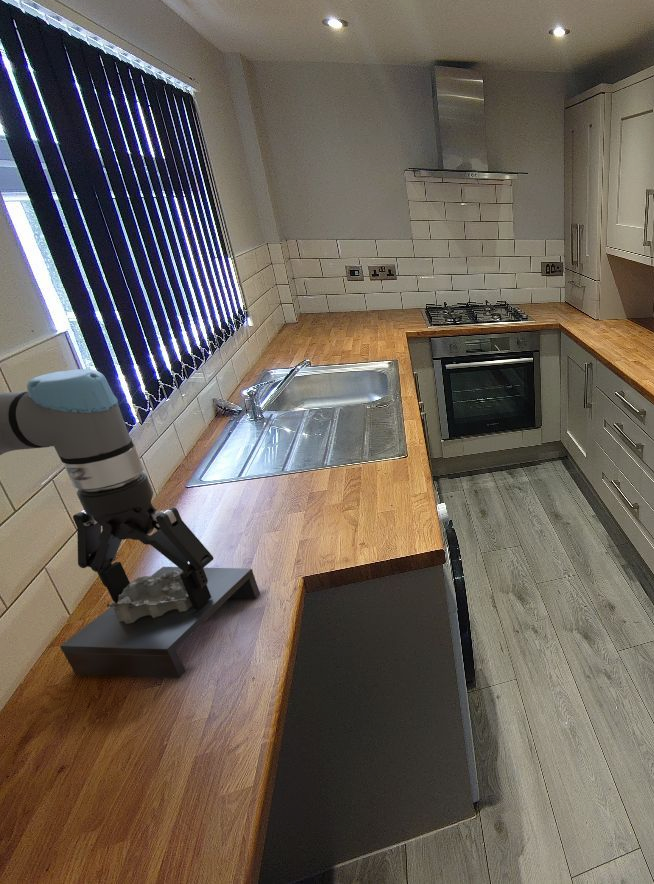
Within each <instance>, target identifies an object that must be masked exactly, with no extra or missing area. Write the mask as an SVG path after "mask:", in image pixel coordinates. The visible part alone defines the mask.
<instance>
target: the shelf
mask: <svg viewBox="0 0 654 884" xmlns="http://www.w3.org/2000/svg"><path fill="white" fill-rule="evenodd" d="M203 569H204V572H205V574H206V577H207V579H208V583H207V584H206V585H207V587H208V590H209V592H210V595H211V598H210V599H209V600H208V601H207V602H206V603H205V604H204V605H203V606H201V607H200V608H199V609H194V608H193V606H192V607H190V608H189V609H188V610H186V611H182V612H179V609H173V610H169V611H167V612H165V613H164V614H163V615H161V616H157V617H155V618H153V617H152V616H151V615H146V616H143V617H140V618H138V619H137V620H136V621H135V622H133V623H128V624H126V623H125V622H124V621H118V618H117V616H116V614H115V611H114V610H113V608H114V606H113V607H110V606H109V607H108V608H107V609H106V610H104V611H103V612H102V613H100V614H99V615H98V616H97V617H96V618H94V619H93V620H92V621H90V622H89V623H88V624H87V625H85V626H83V628H81V629H80V630H79V631H77V632H76V633H75V634H73V635H72V636H70V638H68V639H67V640H66V641H64V642H63V643H61V645H59V648H60V649H61V651H62V653H63V655H64V656H65V659H66V661H67V662H68V663H69V666H70V667H71V669H72V671H73V673H74V674H75V675H78V676H79V675H80V676H81V675H83V676H112V677H139V678H140V677H143V678H144V677H145V678H171V679H173V678H174V679H180V678H182V676H183V675H184V674H185V673H186V672H187V670H186V668H185V666H184V664H183V662H182V661H183V660H182V659H181V657H180V654H179V652H178V650H177V649H178V648H179V647H180V646H182V644H183V643H184V642H185V641H186V640H188V639H189V637H191V636H192V635H193V634H194V633H195V632H196V631H197V630H198V629H199V628H200V627H201V626H202V625H203V624H204V623H205V622H206V621H207V620H208V619H209V618H210V617H211V616H212V615H213V614H214V613H215V612H216V611H217V610H218V609H219V608H221V606H222V605H224V604H225V603H226V602H227V601H228V599H257V598H258V597H259V596H260V595H261V592H260V589H259V586H258V583H257V579H256V577H255V575H254V572H253V569H252V568H245V567H244V568H243V567H242V568H240V567H204V568H203ZM173 571H177V572H181V569H180V568H179V567H178V566H162V567H161V568H159V569H158V570H156V571H155V572H154V573H153V574H151V576H158V575H161V574H167V573H171V572H173Z"/></svg>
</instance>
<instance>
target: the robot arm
mask: <svg viewBox="0 0 654 884" xmlns="http://www.w3.org/2000/svg"><path fill="white" fill-rule="evenodd" d="M26 389H27V390H25V391H11V392H0V456H2V455H4V454H6V453H9V452H12V451H13V452H14V451H23V450H30V449H31V450H32V449H42V448H50V447H54V449H55V451H56V453H57V456H58V458H59V459H60V461H61V463H62V464H63V466H64V469H65V470H66V473H67V475H68V477H69V480H70V482H71V484H72V486H73V487H74V488H75V489H77V490H76V496H77V498H78V500H79V502H80V504H81V506H82V508H83V509H82V510H81V511H79V512H77V513H75V514H74V515H72V519H73V521H74V524H75V526H76V528H77V529H76V530H77V531H76V533H77V565H78V567H79V568H81V569H86V568H90V569H91V570H92V571H93V572H96V573H97V575H98V577H99V579H100V581H101V584H102V585H103V586H104V587H105V588H106V590H107V591H108V593H109V596H110V598H111V600H112V602H113V601H114V602H115V603H117V602H118V596H119V594H120V595H121V594H122V592H123V589H124V588H126V587H127V585H128V584H130V583H131V582H130V580H129V577H128V575H127V573H126V571H125V569H124V566H123V565H122V561H117V559H118V557H117V554H118V551H119V548H120V546H121V543H122V541H123V540H133V541H139V542H140V543H142V544H143V545H146V546H147V545H150V546H151V547H152V548H154V549H155V550H156V551H158V553H160V554H161V555H163V556H164V557H165V558H166V559H167V560H168V561H170V562H171V563H173V564H174V565H175V567H179V568H180V569H181V570H183V571H184V572H183V573H181V574H180V577H181V579H182V581H183V584H184V586H185V589H186V591H187V594H188V596H189V598H190V601H191V603H192V606H193V608H194V609H199V608H200V607H201V606H203V605H204V604H205V603H206V602H207V601H208V600H209V599H210V598H211V595H210V592H209V590H208V587H207V585H206V584H207V583H208V579H207V577H206V574H205V572H204V569H203V568H206V566H207V565H209V564H210V563H211V562H212V561H214V555H213V554H211V552H210V551H209V550H208V549H207V548H206V546H205V545H204V544H203V543H202V541H200V539H199V538H198V537H197V536H196V535H195V534H194V532H193V531H192V530H191V529H190V528H189V527H188V525H187V524H186V523H185V521H184V520H183V519H182V517H181V514H180V512H179V510H178V509H177V508H176V507H173V506H170V507H169V508H168V509H166V510H157V509H156V508H155V507H154V505H153V504H152V501H153V496H154V490H153V488H152V487H153V486H152V485H151V483H150V480H149V478H148V475H147V474H146V472H143V471H144V469H145V467H144V464H143V462H142V459H141V458H140V455H139V453H138V450H137V448H136V446H135V443H134V442H133V440H132V437H131V436H130V433H129V430H128V428H127V425H126V423H125V422H126V421H125V420H124V417H123V414H122V411H121V409H120V405H119V401H118V398H117V396H115V394H114V392H113V390H112V388H111V386H110V384H109V382H108V380H107V378H106V376H105V375H104V374H103V373H102V372H100V371H99V370H96V369H89V368H81V369H80V368H77V369H76V368H75V369H69V370H62V371H61V370H60V371H53V372H49V373H45V374H42V375H38V376H35V377H33V378H31V379H29V381H27V383H26ZM154 529H155V530H156V531H154ZM153 531H154V533H152V532H153ZM151 533H152V534H151Z"/></svg>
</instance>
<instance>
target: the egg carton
mask: <svg viewBox="0 0 654 884" xmlns="http://www.w3.org/2000/svg"><path fill="white" fill-rule="evenodd" d="M183 572H184V571H183V570H181V572H177V571H173V572H171V573H167V574H161V575H158V576H152V575H146V576H140V577H137V578H135V579H134V580H132V581H131V582H130V584H128V585H127V587H126V588H124V589H123V592H122V594H121V595H120V594H119V596H118V602H117V603H115V602H114V601H113V600H112V601H111V602H108V603H106V607H107V609H109V608H110V607H113V606H114V608H113V610H114V611H115V614H116V616H117V618H118V621H124V622H125V623H126V624H128V623H133V622H135V621H136V620H137V619H138V618H140V617H143V616H146V615H151V616H152V617H153V618H155V617H157V616H161V615H163V614H164V613H165V612H167V611H169V610H173V609H179V612H182V611H186V610H188V609H189V608H190V607H192V603H191V601H190V598H189V596H188V594H187V591H186V589H185V586H184V584H183V581H182V579H181V577H180V574H181V573H183Z"/></svg>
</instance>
